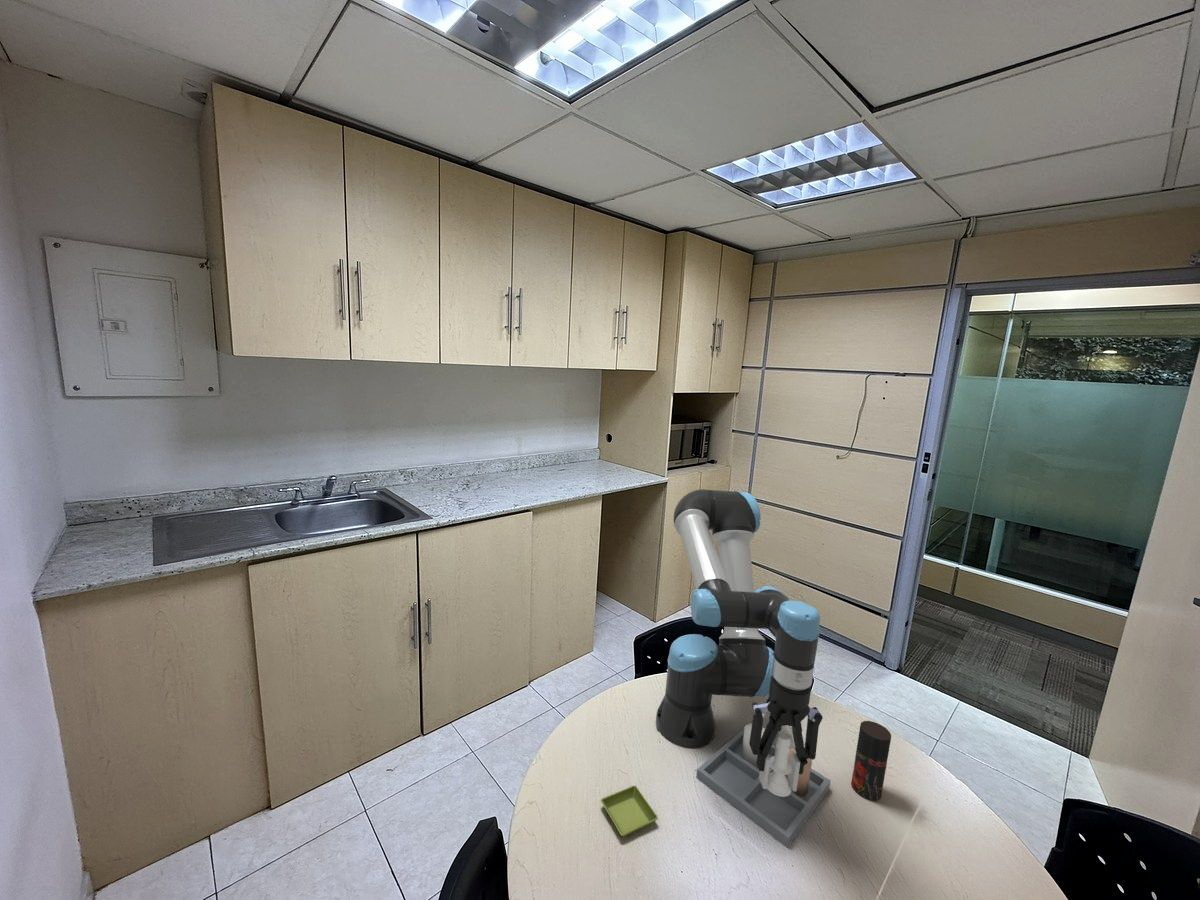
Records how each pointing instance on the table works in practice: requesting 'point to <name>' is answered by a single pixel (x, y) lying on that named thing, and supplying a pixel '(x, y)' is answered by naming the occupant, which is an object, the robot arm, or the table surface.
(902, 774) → the table surface
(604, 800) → the green square dish
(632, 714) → the table surface
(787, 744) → the white peg
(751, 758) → the glossy white egg
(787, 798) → the holder tray
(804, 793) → the glossy peach egg
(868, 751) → the deodorant
